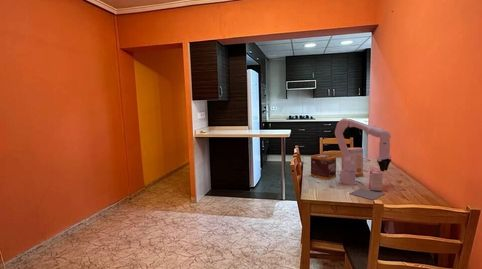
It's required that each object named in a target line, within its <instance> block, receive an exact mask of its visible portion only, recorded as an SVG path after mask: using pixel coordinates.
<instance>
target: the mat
mask: <svg viewBox="0 0 482 269" xmlns="http://www.w3.org/2000/svg"><path fill="white" fill-rule="evenodd" d="M349 195H351V196H355V197H359V198H362V199H366V200H371V201H375V200H377V199H378V198H381V197H382V196H385V195H386V194H385V193H382V192H380V191H371V190H370V189H365V188H359V189H357V190H354V191H352V192H350V193H349Z"/></svg>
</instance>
